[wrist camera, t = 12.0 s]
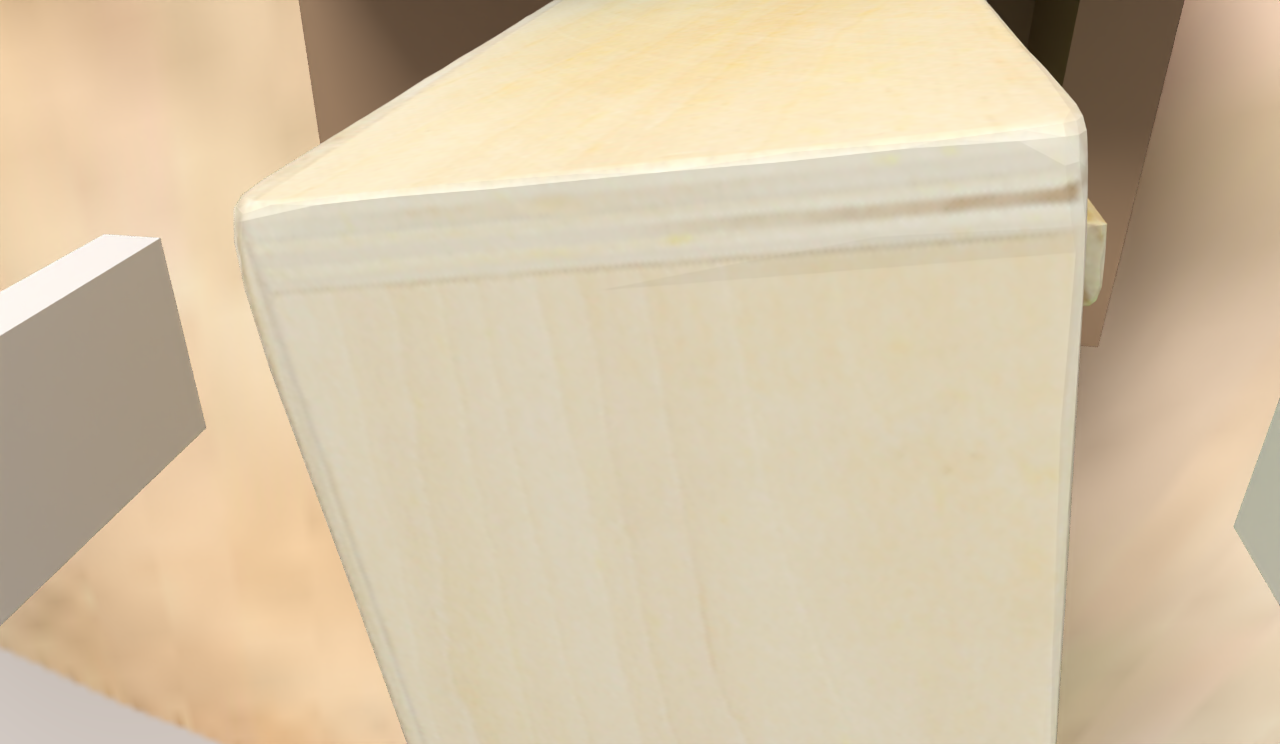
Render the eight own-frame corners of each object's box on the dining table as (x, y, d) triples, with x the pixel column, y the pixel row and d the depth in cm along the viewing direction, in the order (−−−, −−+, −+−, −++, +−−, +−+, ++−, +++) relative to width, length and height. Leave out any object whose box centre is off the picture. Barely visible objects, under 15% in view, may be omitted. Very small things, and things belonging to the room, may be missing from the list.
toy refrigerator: (942, 209, 28) (1125, 912, 10) (684, 229, 29) (424, 861, 11) (939, -103, 24) (1220, 75, 6) (646, -60, 26) (178, 181, 8)
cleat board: (348, 208, 33) (114, 382, 22) (288, -217, 27) (-65, -252, 16) (1052, 255, 29) (1167, 488, 19) (1155, -221, 23) (1403, -269, 13)
